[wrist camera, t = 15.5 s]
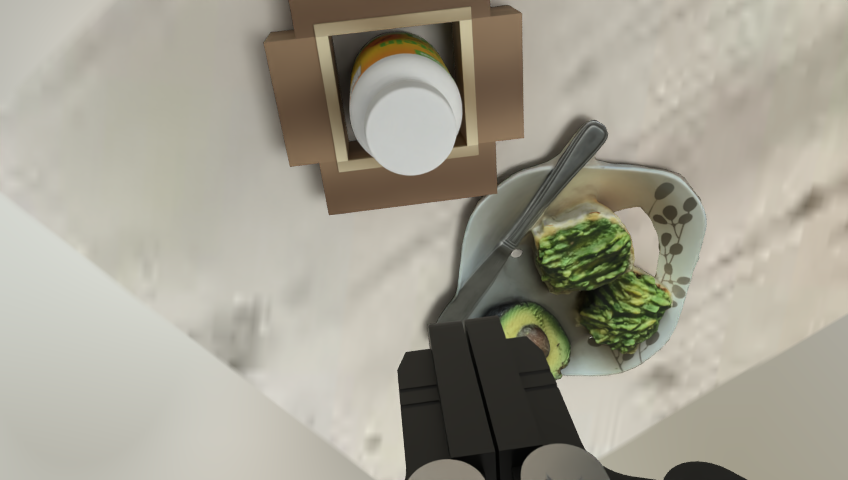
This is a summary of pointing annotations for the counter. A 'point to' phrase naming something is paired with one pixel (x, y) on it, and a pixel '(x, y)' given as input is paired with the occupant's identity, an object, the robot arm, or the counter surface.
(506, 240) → the avocado toast plate
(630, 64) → the counter surface
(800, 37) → the counter surface
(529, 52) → the counter surface
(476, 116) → the open cardboard box
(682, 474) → the robot arm
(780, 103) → the counter surface
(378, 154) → the supplement bottle
